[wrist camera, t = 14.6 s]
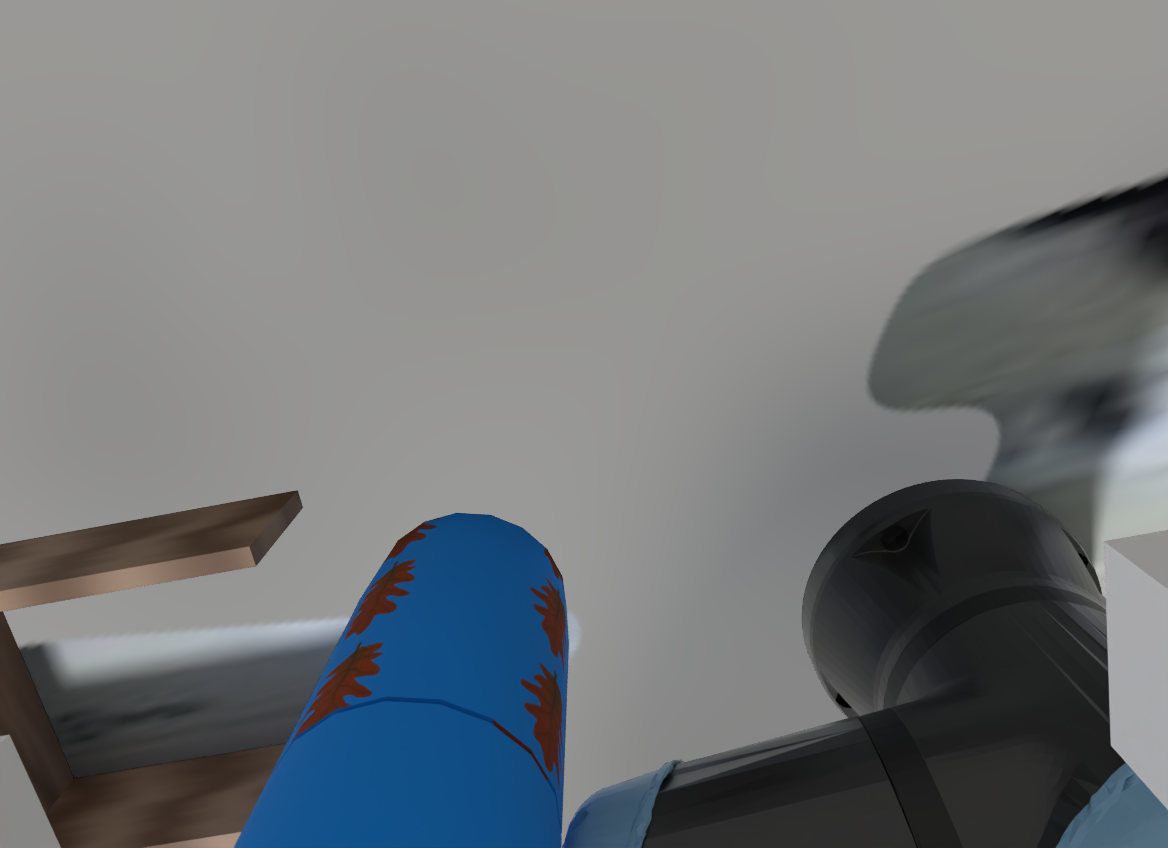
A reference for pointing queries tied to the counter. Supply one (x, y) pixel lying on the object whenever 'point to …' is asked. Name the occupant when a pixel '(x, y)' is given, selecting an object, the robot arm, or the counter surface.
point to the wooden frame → (112, 563)
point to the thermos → (434, 705)
